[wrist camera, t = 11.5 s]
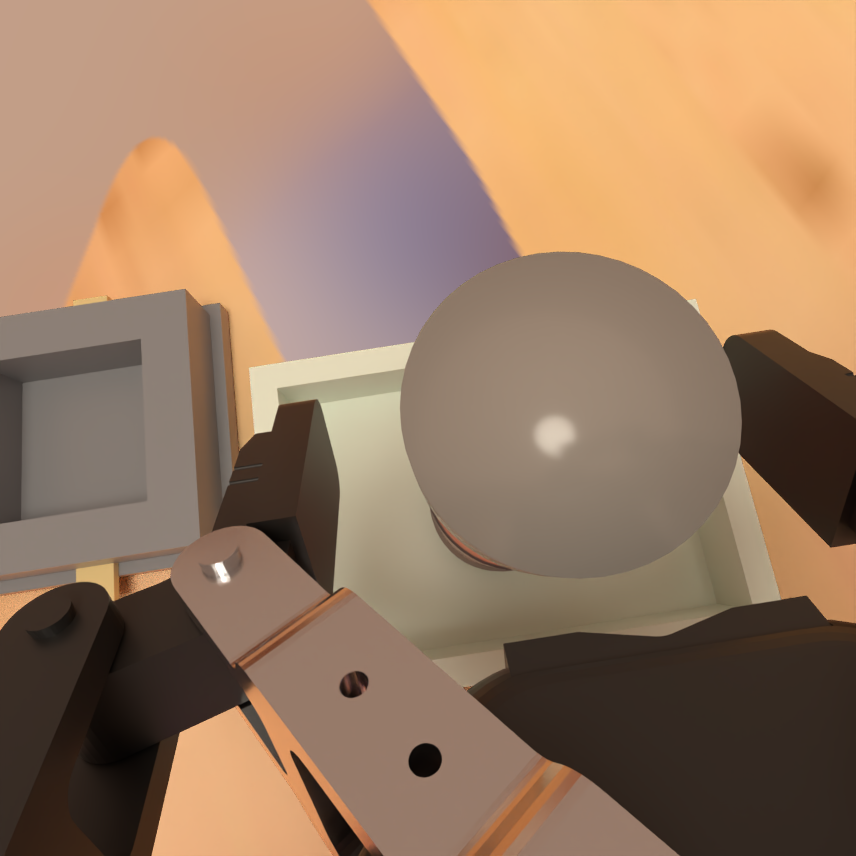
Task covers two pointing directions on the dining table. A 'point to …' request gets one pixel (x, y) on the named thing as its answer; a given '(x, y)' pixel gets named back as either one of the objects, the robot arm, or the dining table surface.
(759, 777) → the robot arm
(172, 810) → the dining table surface
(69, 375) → the socket block
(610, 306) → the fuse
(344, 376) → the parts tray
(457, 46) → the dining table surface
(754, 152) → the dining table surface
